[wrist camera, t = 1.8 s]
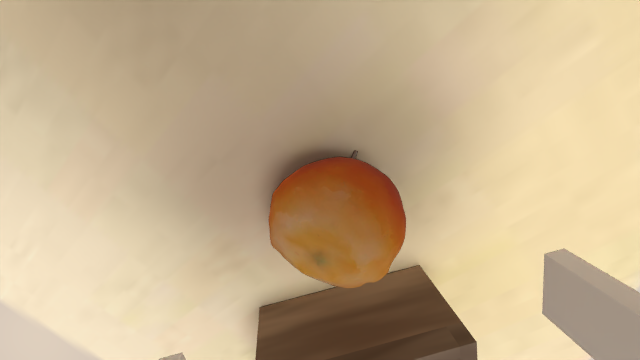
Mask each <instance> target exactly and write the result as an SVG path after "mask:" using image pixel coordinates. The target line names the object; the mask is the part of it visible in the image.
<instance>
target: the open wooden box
mask: <svg viewBox="0 0 640 360" xmlns="http://www.w3.org/2000/svg"><path fill="white" fill-rule="evenodd" d="M256 360H477V342H476V341H475V339H474V338H473V337H472V335H471V334H470V333H469V331H468V330H467V329H466V327H465V326H464V325H463V323H462V322H461V321H460V319H459V318H458V316H457V315H456V314H455V312H454V311H453V310H452V308H451V307H450V306H449V304H448V303H447V302H446V300H445V299H444V298H443V296H442V295H441V294H440V292H439V291H438V290H437V288H436V287H435V286H434V284H433V283H432V281H431V280H430V279H429V277H428V276H427V275H426V273H425V272H424V271H423V269H422V268H421V267H420V265H419V266H415V267H411V268H407V269H404V270H400V271H396V272H392V273H388V274H386V275H385V276H384V277H383V278H382V279H380V280H379V281H377V282H374V283H372V282H369V283H365V284H363V285H362V286H360V287H356V288H343V287H335V288H331V289H328V290H324V291H320V292H316V293H313V294H309V295H305V296H301V297H297V298H294V299H290V300H286V301H282V302H278V303H275V304H271V305H267V306H263V307H260V311H259V324H258V336H257V349H256Z"/></svg>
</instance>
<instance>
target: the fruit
mask: <svg viewBox="0 0 640 360" xmlns="http://www.w3.org/2000/svg"><path fill="white" fill-rule="evenodd" d="M357 152H358V151H356V150H355V151H354V153H353V155H352V157H351V158H346V157H333V158H327V159H323V160H319V161H316V162H313V163H310V164H307V165H305V166H303V167H301V168H300V169H298V170H297V171H295V172H294V173H293V174H291V175H290V176H289V177H287V178H286V179H284V180H283V181H282V183H281V184H280V185H279V186H278V188H277V189H276V190H275V191H274V193H273V195H272V200H271V206H270V214H269V227H270V240H271V244H272V246H273V247H274V248H275V249H276V250H277V251H278V252H280V253H281V255H282V256H283V257H284V258H285V259H286V260H287V261H288V262H289V263H291V264H292V265H293V266H294V267H295V268H297V269H298V270H299V271H300V272H302V273H303V274H305V275H307V276H309V277H312V278H314V279H317V280H320V281H322V282H325V283H328V284H331V285H334V286H337V287H343V288H356V287H360V286H362V285H363V284H365V283H369V282H372V283H374V282H377V281H379V280H380V279H382V278H383V277H384V276H385V275H386V274H387V273H388V271H389V267H390V265H391V263H392V262H393V260H394V258H395V257H396V255H397V254H398V252H399V251H400V249H401V246H402V244H403V242H404V238H405V230H406V217H405V212H404V209H403V205H402V201H401V198H400V195H399V192H398V190H397V188H396V187H395V185H394V184H393V183H392V181H391V180H390V179H389V178H388V177H387V176H386V175H385V174H383V173H382V172H380V171H379V170H378V169H376V168H374V167H373V166H371V165H369V164H368V163H365V162H363V161H360V160H357V159H356V156H357Z"/></svg>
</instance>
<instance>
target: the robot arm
mask: <svg viewBox="0 0 640 360" xmlns="http://www.w3.org/2000/svg"><path fill="white" fill-rule="evenodd" d="M542 314H543V315H545V316H546V317H547V318H548V319H549V320H550V321H551V322H553V323H554V324H555V325H556V326H557V327H558V328H559V329H561V330H562V331H563V332H564V333H565V334H566V335H567V336H568V337H570V338H571V339H572V340H573V341H574V342H575V343H576V344H578V345H579V346H580V347H581V348H582V349H583V350H584V351H586V352H587V353H588V354H589V355H590V356H591V357H592V358H594V359H595V360H640V293H639V292H638V291H636V290H634V289H632V288H631V287H629V286H627V285H626V284H624V283H622V282H621V281H619V280H617V279H615V278H614V277H612V276H610V275H609V274H607V273H605V272H603V271H602V270H600V269H598V268H597V267H595V266H593V265H591V264H590V263H588V262H586V261H585V260H583V259H581V258H580V257H578V256H576V255H574V254H573V253H571V252H569V251H568V250H566V249H561V250H557V251H553V252H550V253H546V254H545V255H544V282H543V309H542ZM159 360H186V359H185V357H184V355H183V353H179V354H175V355H171V356H168V357H164V358H160V359H159Z"/></svg>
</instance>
